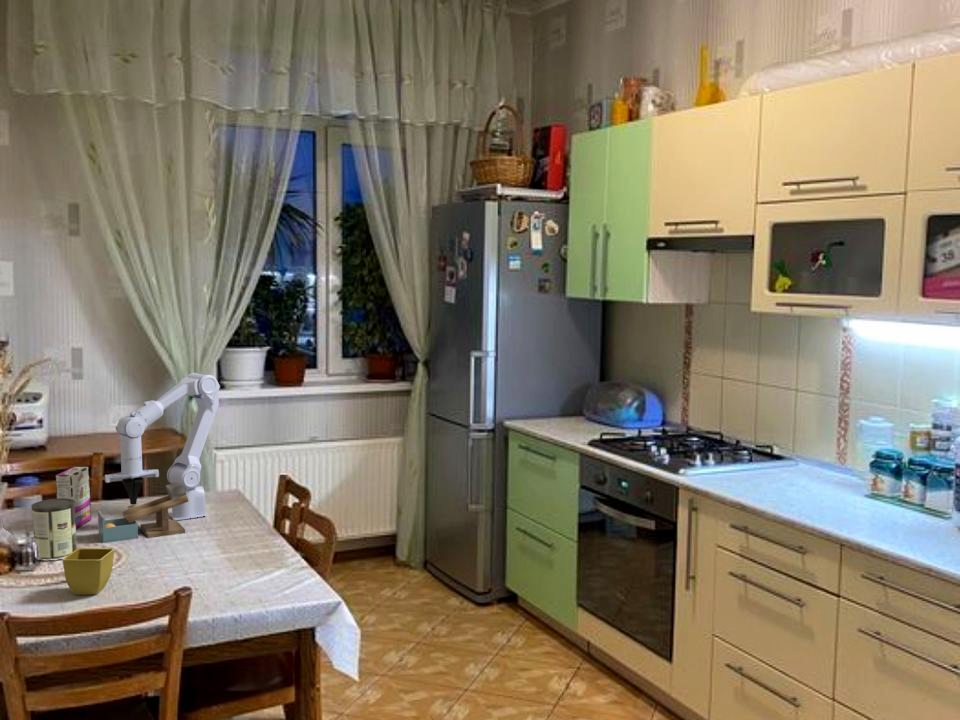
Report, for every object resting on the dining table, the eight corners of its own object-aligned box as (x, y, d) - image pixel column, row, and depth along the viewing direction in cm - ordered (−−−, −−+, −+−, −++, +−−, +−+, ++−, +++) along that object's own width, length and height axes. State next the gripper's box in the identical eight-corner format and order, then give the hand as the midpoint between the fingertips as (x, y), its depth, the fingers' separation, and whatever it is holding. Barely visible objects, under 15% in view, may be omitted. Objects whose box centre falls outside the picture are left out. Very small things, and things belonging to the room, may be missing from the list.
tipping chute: (179, 492, 267) (174, 476, 266) (188, 501, 257) (183, 484, 256) (121, 513, 259) (116, 496, 258) (128, 523, 249) (123, 506, 248)
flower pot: (116, 584, 211) (115, 547, 210) (102, 598, 202) (100, 559, 201) (79, 585, 210) (77, 548, 210) (63, 598, 202) (61, 559, 201)
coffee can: (53, 548, 240) (51, 496, 238) (85, 551, 237) (83, 499, 236) (24, 559, 230) (22, 506, 228) (57, 563, 227) (55, 509, 226)
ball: (117, 524, 252) (105, 520, 250) (119, 527, 249) (107, 523, 247) (112, 535, 251) (99, 532, 250) (114, 538, 248) (101, 535, 247)
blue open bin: (132, 530, 257) (131, 506, 256) (138, 537, 249) (137, 513, 248) (98, 534, 252) (97, 510, 251) (103, 542, 244) (102, 517, 244)
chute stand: (175, 522, 264) (174, 497, 264) (185, 532, 254) (184, 506, 253) (140, 527, 259) (139, 502, 259) (148, 537, 249) (147, 511, 248)
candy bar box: (75, 520, 268) (73, 466, 266) (92, 520, 268) (89, 466, 266) (57, 530, 257) (54, 474, 255) (74, 530, 256) (71, 474, 255)
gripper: (106, 462, 251) (108, 510, 252) (160, 457, 258) (162, 503, 259) (103, 458, 257) (105, 504, 258) (155, 453, 264) (157, 498, 265)
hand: (133, 503), depth 259 cm, fingers closed
